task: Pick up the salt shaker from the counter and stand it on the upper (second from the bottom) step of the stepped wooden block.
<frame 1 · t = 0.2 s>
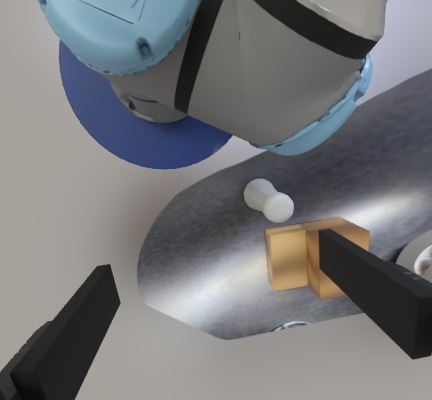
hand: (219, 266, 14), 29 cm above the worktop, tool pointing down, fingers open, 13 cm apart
salt shaker: (255, 191, 44), on the worktop
stepped wooden block: (303, 249, 47), on the worktop
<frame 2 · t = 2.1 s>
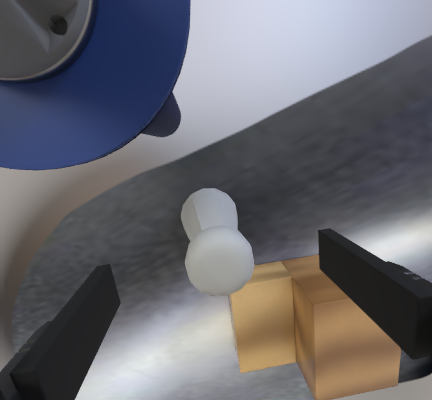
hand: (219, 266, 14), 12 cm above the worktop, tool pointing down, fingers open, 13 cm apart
salt shaker: (207, 208, 26), on the worktop
stepped wooden block: (290, 300, 30), on the worktop
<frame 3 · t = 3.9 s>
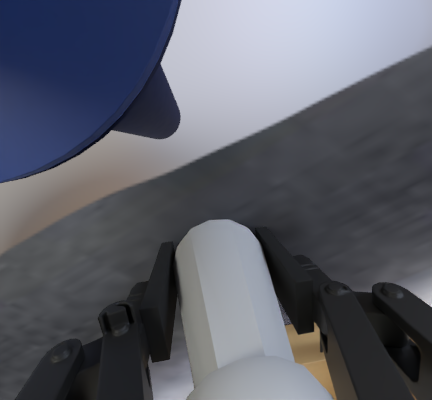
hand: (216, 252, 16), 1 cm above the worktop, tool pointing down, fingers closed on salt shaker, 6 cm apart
salt shaker: (215, 246, 17), on the worktop, touching gripper
stepped wooden block: (333, 371, 21), on the worktop
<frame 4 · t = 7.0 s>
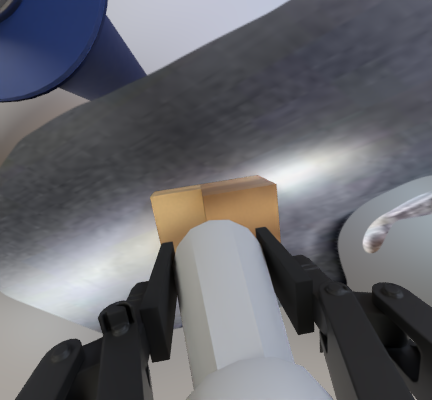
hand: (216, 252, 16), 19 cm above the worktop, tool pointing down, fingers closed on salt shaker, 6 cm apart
salt shaker: (215, 246, 17), point 18 cm above the worktop, touching gripper
stepped wooden block: (212, 219, 36), on the worktop
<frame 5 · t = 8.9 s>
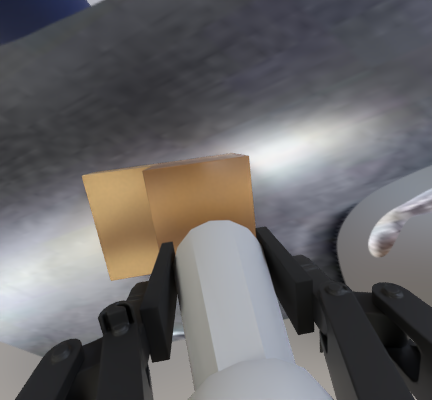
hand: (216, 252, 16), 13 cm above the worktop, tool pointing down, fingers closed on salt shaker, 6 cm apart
salt shaker: (216, 246, 17), point 12 cm above the worktop, touching gripper
stepped wooden block: (174, 211, 28), on the worktop
when the fingers open (9 cm above the worktop, at t = 10.2 s): salt shaker stays where it is, resting on stepped wooden block.
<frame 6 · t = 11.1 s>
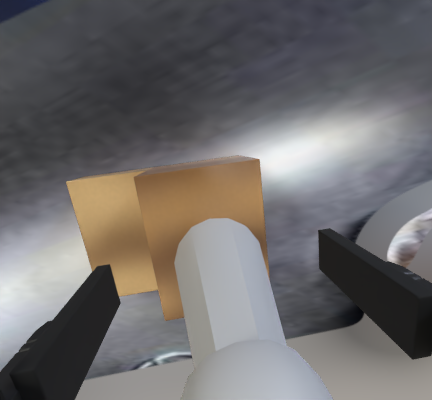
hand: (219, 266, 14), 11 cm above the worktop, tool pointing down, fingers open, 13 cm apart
salt shaker: (215, 244, 17), point 8 cm above the worktop, touching stepped wooden block
stepped wooden block: (173, 220, 25), on the worktop
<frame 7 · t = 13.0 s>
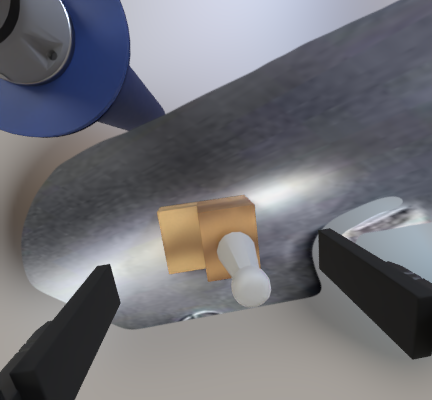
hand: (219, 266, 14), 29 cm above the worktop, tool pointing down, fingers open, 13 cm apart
salt shaker: (233, 243, 36), point 8 cm above the worktop, touching stepped wooden block
stepped wooden block: (206, 230, 44), on the worktop
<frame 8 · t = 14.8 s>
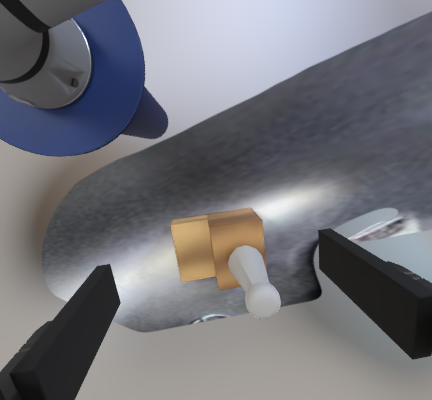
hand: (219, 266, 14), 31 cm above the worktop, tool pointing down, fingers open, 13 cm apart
salt shaker: (242, 255, 39), point 8 cm above the worktop, touching stepped wooden block
stepped wooden block: (215, 240, 47), on the worktop
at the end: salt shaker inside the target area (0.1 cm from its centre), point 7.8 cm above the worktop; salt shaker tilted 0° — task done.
